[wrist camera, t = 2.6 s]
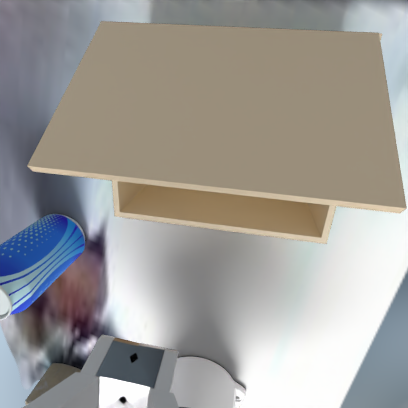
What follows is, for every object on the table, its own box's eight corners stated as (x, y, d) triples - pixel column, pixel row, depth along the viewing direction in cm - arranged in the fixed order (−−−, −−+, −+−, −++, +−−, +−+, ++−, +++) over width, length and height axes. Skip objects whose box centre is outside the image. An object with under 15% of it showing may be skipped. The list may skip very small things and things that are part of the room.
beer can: (78, 207, 46) (-3, 266, 32) (96, 252, 49) (29, 325, 35) (34, 213, 48) (-62, 272, 34) (53, 256, 51) (-27, 327, 37)
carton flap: (400, 213, 15) (406, 208, 15) (33, 171, 18) (27, 165, 17) (374, 40, 21) (378, 32, 21) (104, 28, 24) (101, 21, 23)
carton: (307, 198, 40) (326, 243, 29) (151, 180, 42) (114, 216, 31) (340, 46, 32) (383, 30, 21) (148, 37, 35) (100, 18, 24)
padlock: (52, 360, 63) (-4, 438, 49) (88, 370, 62) (41, 452, 49) (52, 372, 64) (-2, 450, 51) (87, 382, 64) (42, 464, 50)
